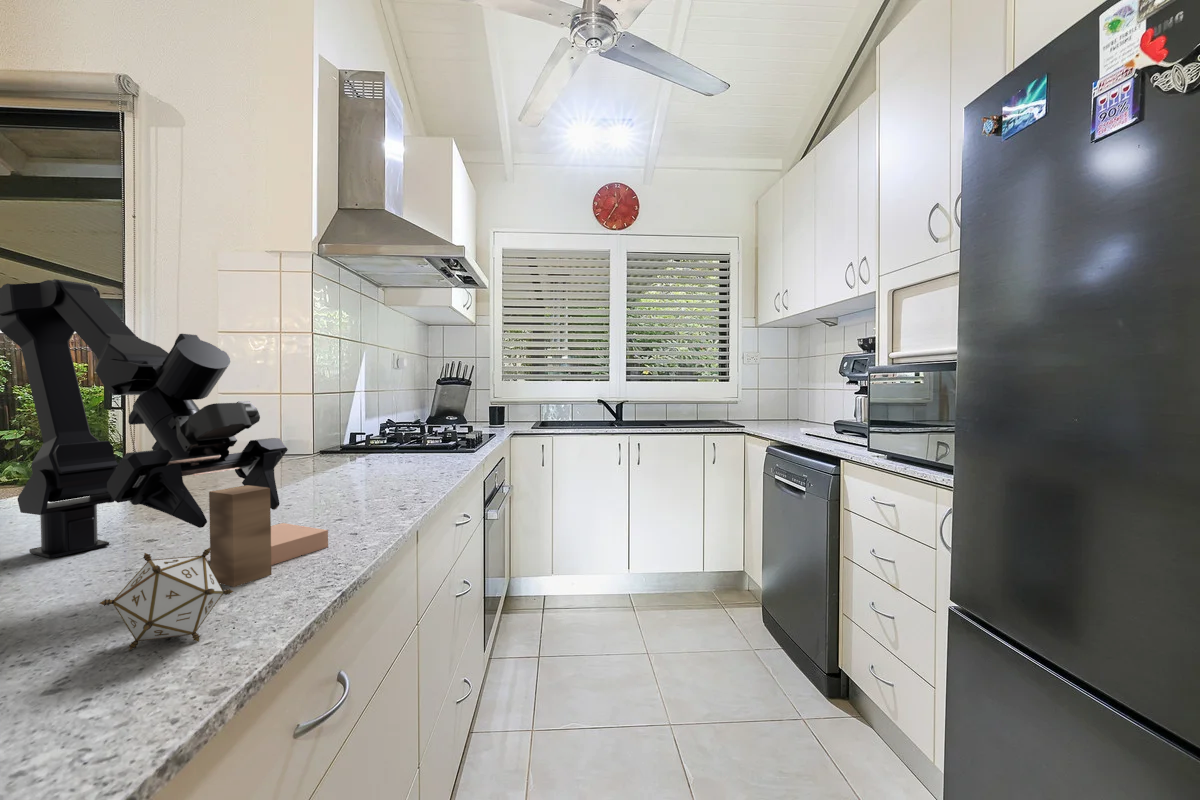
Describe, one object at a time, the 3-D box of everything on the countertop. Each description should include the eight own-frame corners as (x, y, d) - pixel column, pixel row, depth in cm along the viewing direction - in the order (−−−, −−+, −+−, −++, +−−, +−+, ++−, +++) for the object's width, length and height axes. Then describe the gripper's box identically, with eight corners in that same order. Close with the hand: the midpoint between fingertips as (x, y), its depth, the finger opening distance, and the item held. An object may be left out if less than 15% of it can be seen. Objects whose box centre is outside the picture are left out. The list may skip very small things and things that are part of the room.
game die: (174, 686, 47) (137, 630, 41) (105, 645, 49) (59, 585, 43) (259, 606, 54) (238, 548, 48) (196, 571, 56) (168, 511, 50)
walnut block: (210, 581, 63) (209, 491, 63) (248, 569, 67) (247, 485, 67) (234, 587, 61) (232, 494, 61) (271, 574, 65) (270, 487, 65)
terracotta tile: (213, 558, 71) (212, 540, 71) (282, 538, 81) (282, 522, 80) (260, 568, 67) (260, 549, 67) (328, 546, 77) (328, 530, 76)
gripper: (119, 379, 56) (193, 485, 53) (276, 381, 74) (338, 461, 71) (77, 449, 59) (144, 554, 56) (237, 435, 77) (296, 514, 73)
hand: (242, 515), depth 64 cm, fingers open, 9 cm apart
